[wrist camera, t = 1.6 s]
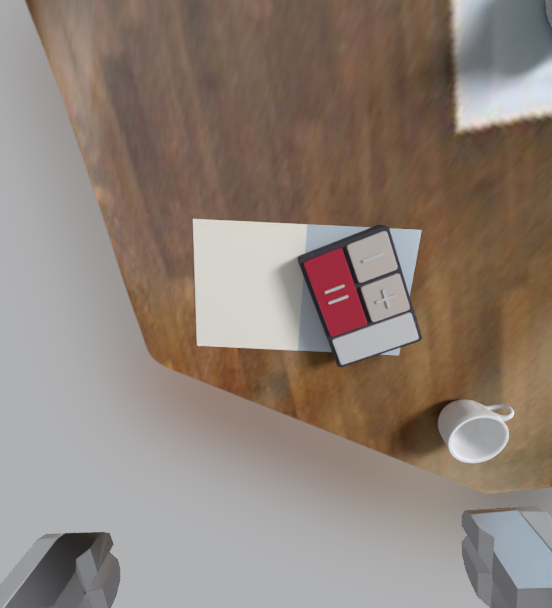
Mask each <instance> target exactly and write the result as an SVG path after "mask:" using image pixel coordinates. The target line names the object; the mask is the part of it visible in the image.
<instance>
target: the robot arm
mask: <svg viewBox="0 0 552 608" xmlns="http://www.w3.org/2000/svg"><path fill="white" fill-rule="evenodd" d="M462 527H463V528H464V530H465V532H466V534H467V536H466V537H465V539H464V540H463V541H462V556H463V560H464V565H465V569H466V572H467V574H468V577H469V579H470V582H471V584H472V586H473V588H474V590H475V593H476V595H477V596H478V597H479V598H480V599H481V600H482V601H483V602H484V603H485V604H487V605H488V606H489V607H490V608H552V518H551V517H550V516H549V515H548V513H547V512H546V511H545V510H543V509H542V508H540V507H539V506H529V507H513V508H496V509H483V510H469V511H464V512H463V514H462ZM112 546H113V541H112V539H111V536H110V533H105V532H92V533H65V534H46V535H44V536H42V537H41V538H39V539H38V540H37V541H36V542H35V543H34V544H33V546H32V547H31V548H30V549H29V550H28V552H27V553H26V554H25V555H24V556H23V558H22V559H21V560H20V561H19V562H18V564H17V565H16V566H15V567H14V568H13V570H12V571H11V572H10V573H9V574H8V576H7V577H6V578H5V579H4V580H3V582H2V583H1V584H0V608H111V606H112V604H113V602H114V599H115V597H116V594H117V590H118V586H119V582H120V566H119V562H118V559H117V558H116V557H114V556H113V555H112V554H111V553H110V550H111V548H112Z"/></svg>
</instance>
